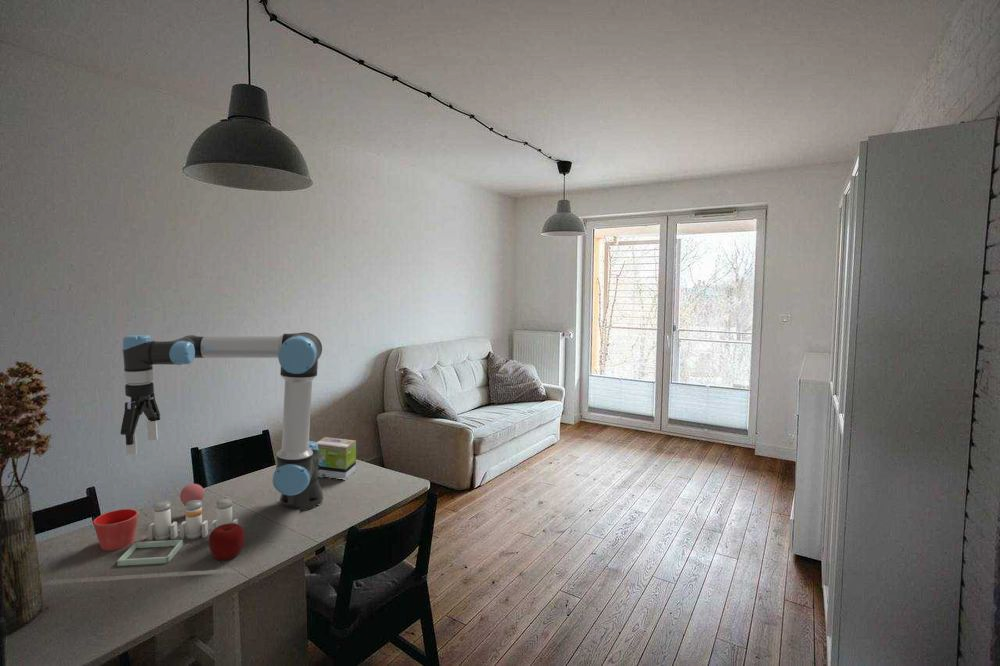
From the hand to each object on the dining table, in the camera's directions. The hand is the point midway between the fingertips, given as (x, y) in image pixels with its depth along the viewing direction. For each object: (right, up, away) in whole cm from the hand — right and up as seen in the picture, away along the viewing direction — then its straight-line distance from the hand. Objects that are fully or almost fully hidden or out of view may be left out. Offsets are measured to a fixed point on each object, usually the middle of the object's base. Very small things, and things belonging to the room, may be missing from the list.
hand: (142, 446), depth 167 cm
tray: (+13, -30, -15) cm, 36 cm away
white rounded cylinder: (+28, -28, -2) cm, 39 cm away
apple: (+35, -31, -13) cm, 48 cm away
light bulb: (+10, -27, +10) cm, 31 cm away
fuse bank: (+19, -29, -4) cm, 35 cm away
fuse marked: (+19, -28, -4) cm, 34 cm away
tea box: (+46, -24, +52) cm, 73 cm away
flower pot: (-1, -29, -9) cm, 30 cm away
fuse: (+10, -27, -5) cm, 30 cm away
